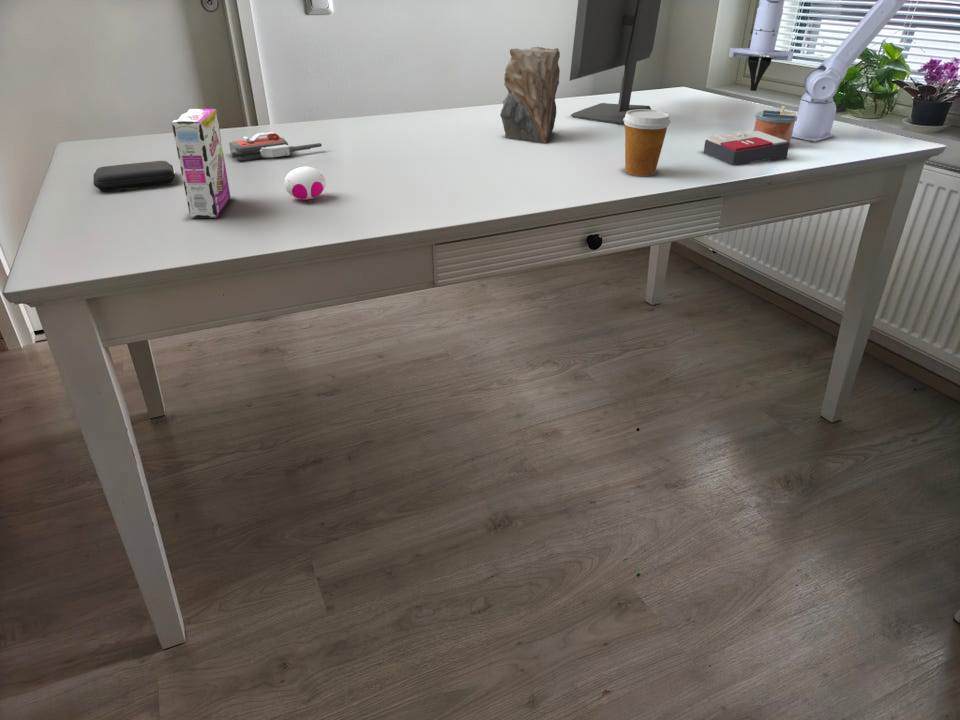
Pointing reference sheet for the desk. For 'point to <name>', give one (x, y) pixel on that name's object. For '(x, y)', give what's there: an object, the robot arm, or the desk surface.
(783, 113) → the lid slider
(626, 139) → the disposable coffee cup
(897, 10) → the robot arm
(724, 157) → the dark grey flat box
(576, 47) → the computer monitor
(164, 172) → the carrying case
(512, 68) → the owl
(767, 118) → the tumbler
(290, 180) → the stress ball
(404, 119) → the desk surface
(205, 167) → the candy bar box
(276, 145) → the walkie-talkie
